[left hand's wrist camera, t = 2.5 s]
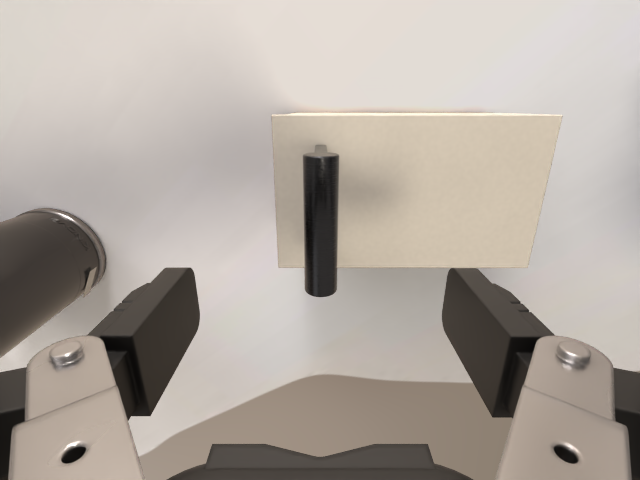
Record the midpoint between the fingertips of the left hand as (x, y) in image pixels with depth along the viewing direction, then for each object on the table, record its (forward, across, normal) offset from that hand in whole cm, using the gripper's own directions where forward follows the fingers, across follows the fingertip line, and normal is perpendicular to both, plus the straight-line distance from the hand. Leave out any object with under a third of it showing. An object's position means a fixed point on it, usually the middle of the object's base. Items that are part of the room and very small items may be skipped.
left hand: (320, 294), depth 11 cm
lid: (+14, -6, 0) cm, 15 cm away
